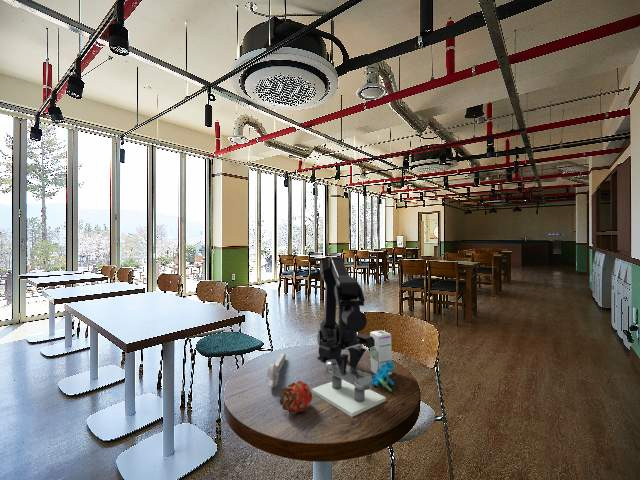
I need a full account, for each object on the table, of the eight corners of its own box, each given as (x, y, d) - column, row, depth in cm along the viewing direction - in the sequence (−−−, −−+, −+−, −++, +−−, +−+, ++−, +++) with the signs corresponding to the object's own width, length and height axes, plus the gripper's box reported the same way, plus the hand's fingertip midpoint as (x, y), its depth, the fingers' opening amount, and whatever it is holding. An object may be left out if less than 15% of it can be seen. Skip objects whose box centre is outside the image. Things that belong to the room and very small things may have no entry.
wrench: (285, 367, 128) (272, 394, 98) (281, 367, 128) (266, 394, 98) (285, 346, 128) (272, 367, 99) (281, 346, 129) (266, 367, 99)
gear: (371, 371, 112) (391, 354, 109) (383, 384, 111) (404, 367, 108) (367, 390, 101) (390, 371, 98) (380, 404, 101) (404, 386, 98)
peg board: (344, 379, 109) (344, 368, 109) (385, 400, 95) (385, 387, 95) (311, 392, 100) (311, 379, 100) (351, 416, 86) (351, 402, 86)
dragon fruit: (285, 428, 83) (299, 411, 95) (311, 411, 82) (322, 396, 94) (269, 398, 86) (285, 385, 97) (294, 381, 85) (307, 370, 96)
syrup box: (392, 374, 113) (392, 333, 113) (378, 377, 111) (378, 335, 111) (382, 368, 119) (382, 329, 119) (369, 371, 116) (369, 331, 116)
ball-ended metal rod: (334, 367, 106) (334, 358, 106) (375, 386, 92) (375, 376, 92) (322, 370, 103) (322, 361, 103) (363, 391, 89) (363, 381, 89)
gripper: (351, 313, 110) (351, 358, 110) (307, 322, 98) (307, 372, 98) (375, 319, 101) (375, 368, 101) (331, 330, 89) (330, 385, 89)
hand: (347, 373), depth 98 cm, fingers closed on ball-ended metal rod, 4 cm apart
